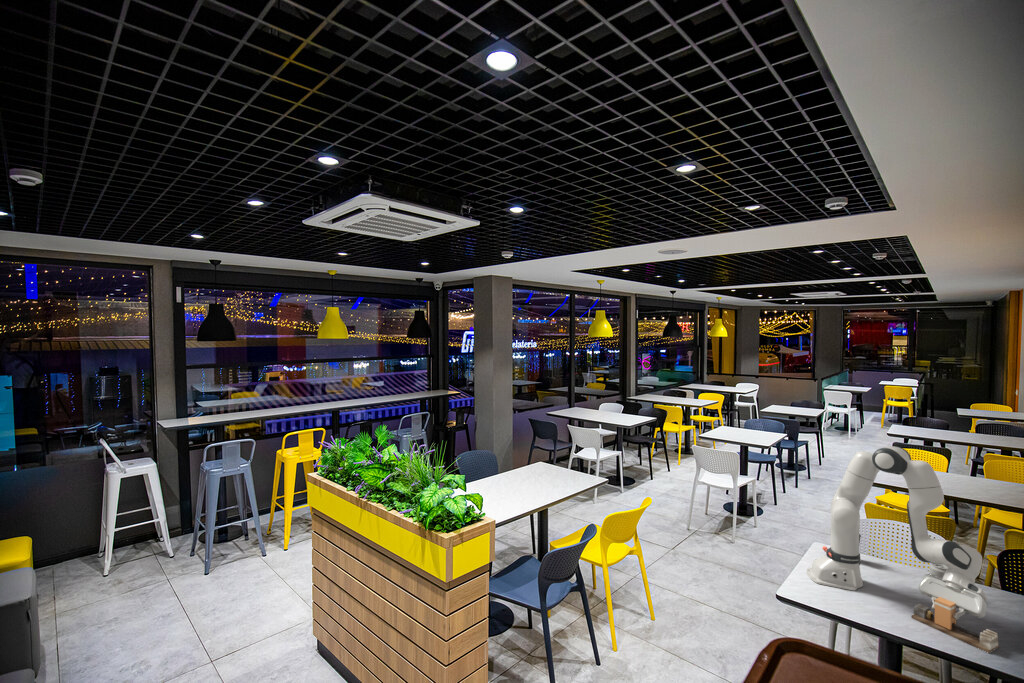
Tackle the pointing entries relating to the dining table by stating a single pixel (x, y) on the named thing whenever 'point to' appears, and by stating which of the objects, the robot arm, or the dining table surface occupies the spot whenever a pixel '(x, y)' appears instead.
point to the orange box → (944, 612)
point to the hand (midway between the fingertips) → (944, 613)
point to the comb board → (958, 630)
